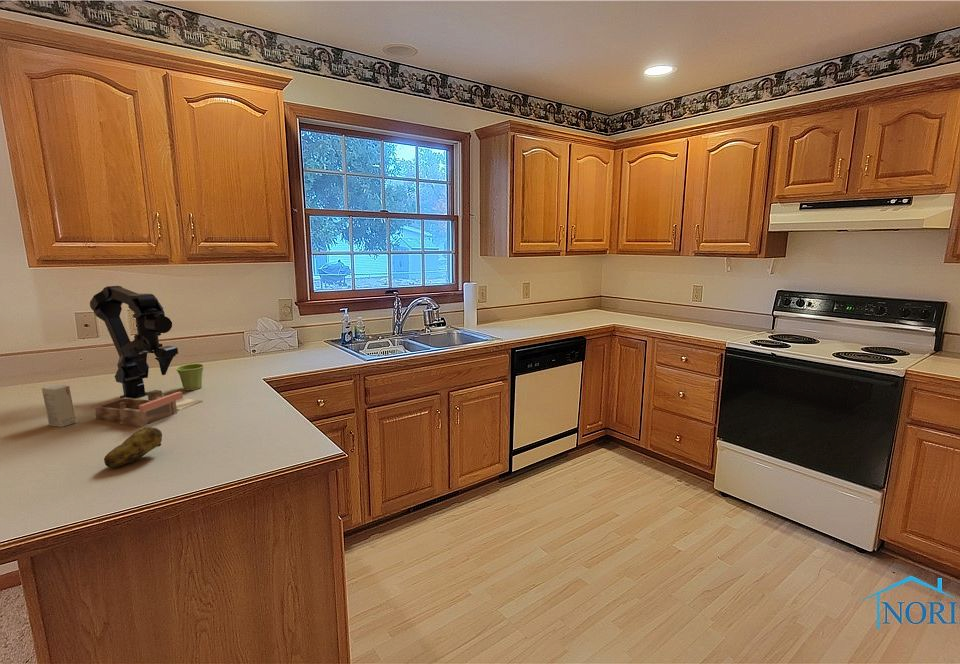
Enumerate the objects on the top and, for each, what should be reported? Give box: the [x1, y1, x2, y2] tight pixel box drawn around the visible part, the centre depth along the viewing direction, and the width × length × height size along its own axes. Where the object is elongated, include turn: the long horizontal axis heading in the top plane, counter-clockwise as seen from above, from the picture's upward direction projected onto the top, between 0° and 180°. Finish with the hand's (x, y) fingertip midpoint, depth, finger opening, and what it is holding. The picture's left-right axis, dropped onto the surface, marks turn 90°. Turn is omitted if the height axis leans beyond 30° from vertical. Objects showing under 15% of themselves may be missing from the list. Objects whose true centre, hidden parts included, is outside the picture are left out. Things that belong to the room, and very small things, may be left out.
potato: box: [103, 426, 163, 469], centre depth 124 cm, size 8×13×8 cm, turn 131°
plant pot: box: [175, 363, 205, 391], centre depth 184 cm, size 9×9×9 cm
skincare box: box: [41, 384, 77, 428], centre depth 148 cm, size 6×4×12 cm
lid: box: [146, 389, 203, 411], centre depth 167 cm, size 20×9×4 cm, turn 74°
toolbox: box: [94, 391, 178, 428], centre depth 155 cm, size 20×12×7 cm, turn 75°
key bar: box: [139, 391, 184, 412], centre depth 151 cm, size 2×14×2 cm, turn 165°
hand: (153, 374), depth 167 cm, fingers open, 9 cm apart
